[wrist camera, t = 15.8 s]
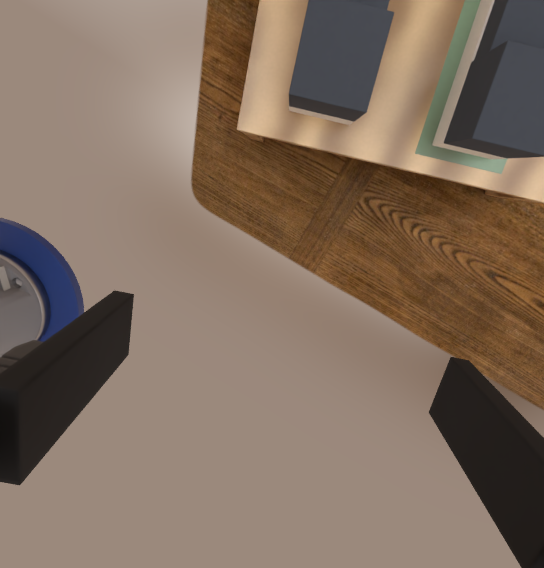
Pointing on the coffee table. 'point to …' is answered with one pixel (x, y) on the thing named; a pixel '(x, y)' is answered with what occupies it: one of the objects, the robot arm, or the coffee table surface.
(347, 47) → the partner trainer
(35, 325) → the robot arm
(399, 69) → the low wooden bench
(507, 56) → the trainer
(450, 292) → the coffee table surface
